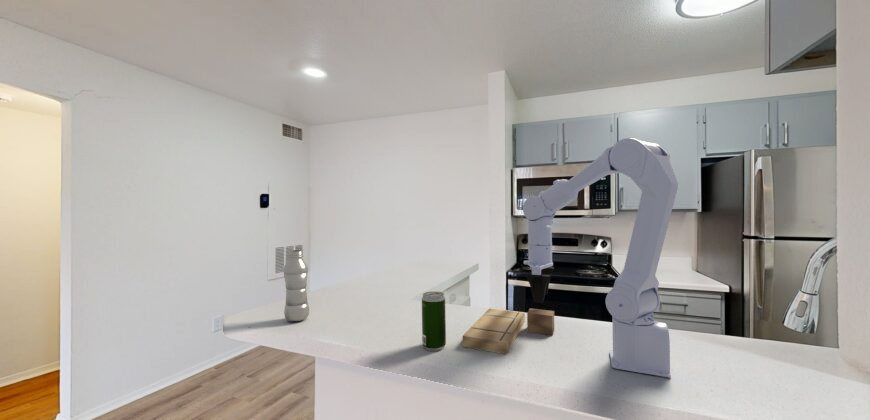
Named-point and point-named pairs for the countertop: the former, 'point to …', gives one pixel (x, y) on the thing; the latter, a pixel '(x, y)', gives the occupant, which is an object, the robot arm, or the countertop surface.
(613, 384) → the countertop surface
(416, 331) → the countertop surface
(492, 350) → the oak board
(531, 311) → the walnut block
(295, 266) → the plastic bottle
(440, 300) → the beer can
